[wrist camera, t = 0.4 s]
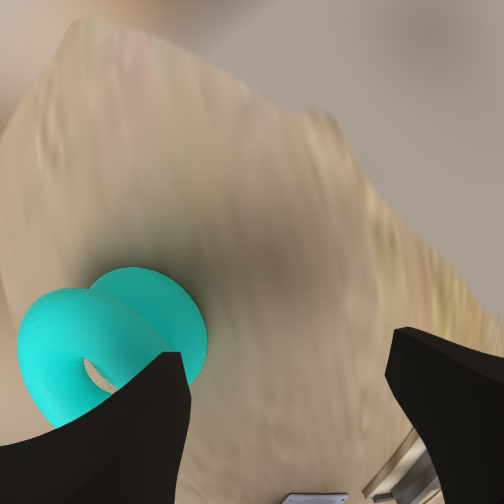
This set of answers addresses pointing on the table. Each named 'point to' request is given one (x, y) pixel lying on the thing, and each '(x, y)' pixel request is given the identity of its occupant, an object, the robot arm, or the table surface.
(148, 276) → the donuts
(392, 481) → the base
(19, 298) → the table surface
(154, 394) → the robot arm
